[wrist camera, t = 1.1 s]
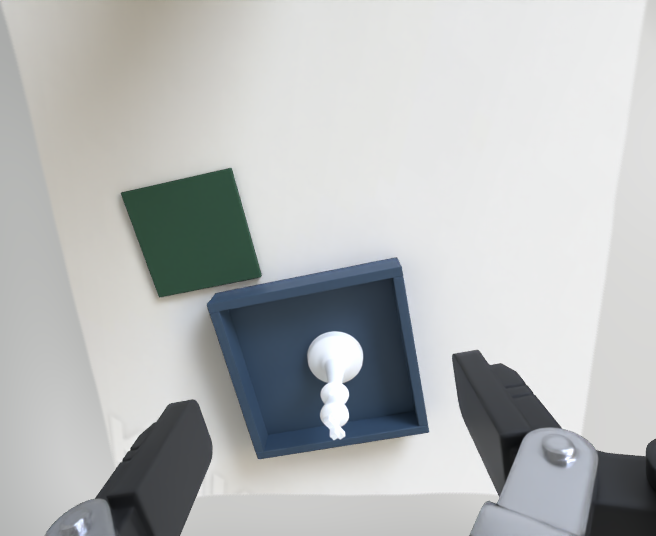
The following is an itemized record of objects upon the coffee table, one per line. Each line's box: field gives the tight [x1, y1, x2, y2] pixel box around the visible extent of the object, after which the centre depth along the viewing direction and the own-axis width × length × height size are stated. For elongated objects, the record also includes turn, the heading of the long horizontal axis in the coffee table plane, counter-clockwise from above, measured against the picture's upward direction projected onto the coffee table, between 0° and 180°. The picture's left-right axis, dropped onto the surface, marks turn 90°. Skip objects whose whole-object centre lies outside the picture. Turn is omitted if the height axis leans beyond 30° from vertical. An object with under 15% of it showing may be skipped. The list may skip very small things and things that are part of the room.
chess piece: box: [307, 331, 363, 440], centre depth 30 cm, size 5×5×10 cm
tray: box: [207, 257, 429, 459], centre depth 34 cm, size 16×16×2 cm
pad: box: [121, 168, 262, 297], centre depth 32 cm, size 9×9×1 cm
